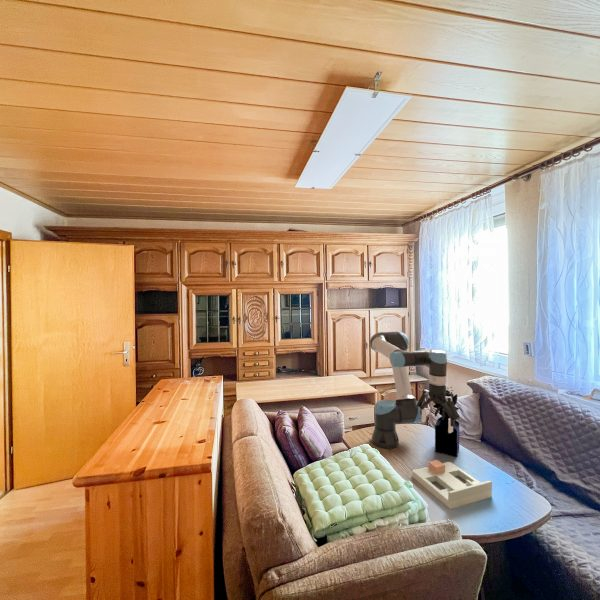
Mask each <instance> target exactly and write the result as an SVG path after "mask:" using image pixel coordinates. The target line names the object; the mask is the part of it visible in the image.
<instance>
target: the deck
mask: <svg viewBox="0 0 600 600" xmlns="http://www.w3.org/2000/svg"><path fill="white" fill-rule="evenodd" d="M441 463H442V462H441ZM442 464H444V465H445V472H442V473H438V474H436V473H434V472H433V471H432V470H431V469H429V468H428V466H426V467H425V466H424V467H420V468H417V469H412V470H411V476H412V477H411V478H413V479H414V480H415V481H417V482H418V483H419V484H420V485H421V486H422V487H424V488H425V489H426V490H427V491H429V493H431V494H432V495H433V496H434V497H435V498H437V499H438V500H439V501H440V502H441V503H442V504H443V505H445V506H446V507H447V508H448V509H450V510H452V509H455V508H459V507H463V506H466V505H469V504H472V503H476V502H479V501H482V500H486V499H489V498H492V497H493V495H492V494H493V493H492V492H493V488H492V487H493V483H492V480H486V481H482V482H481V481H479V480H478V479H477V478H475V477H473V476H472V475H470V474H469V473H467V471H464V470H463V469H461V468H460V467H458V466H457V465H455V464H454V463H452V462H451V461H446V462H445V461H444V462H443V463H442Z"/></svg>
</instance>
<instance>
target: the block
mask: <svg viewBox="0 0 600 600" xmlns="http://www.w3.org/2000/svg"><path fill="white" fill-rule="evenodd" d="M427 463H428V466H427V467H428V468H429V469H431V470H432V471H433V472H434V473H436V474H438V473H442V472H445V465H444V464H442V462H441V461H440V460H438V459H434V460H430V461H428V462H427Z"/></svg>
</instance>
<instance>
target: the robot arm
mask: <svg viewBox="0 0 600 600" xmlns="http://www.w3.org/2000/svg"><path fill="white" fill-rule="evenodd" d="M369 346H370V348H371V349H372V351H374V352H376V353H379V354H382V355H383V356H384V357H385V358H388V359H389V364H390V365H391V368H392V372H393V373H392V375H393V379H394V385H395V390H396V391H395V392H396V396H397V397H396V398H395V399H394V400H392V399H380V400H378V401H376V402H375V404H374V410H373V412H374V428H373V433H372V435H371V442H372V444H373V445H374V446H376V447H378V448H381V449H388V450H389V449H395V448H398V446H399V444H400V439H399V436H398V433H397V428H396V425H404V424H405V425H406V424H416V423H419V422H420V421H421V423H425V422H427V408H426V407H427V406H428V405H429V404H430V403H431V402H433V403H434V402H436V403H438V404H441V406H443V408H444V409H445V411H446V413H447V414H448V416H449V417H450V419H449V424H448V433H452V432H453V426H455V420H456V421H458V419H460V415H459V413H458V410H456V408H455V406H456V405H454V403H453V397H447V396H446V390H447V367H448V366H447V365H448V363H447V362H448V357H447V352H445V351H444V350H440V349H431V350H428V349H425V348H424V349H423V348H421V349H418V350H413V351H412V350H409V351H408V349H409V346H410V342H409V338H408V336H407V335H406V333H404V332H403V331H385V332H384V331H382V332H381V331H380V332H377V333H374V334H373V335H372V336H371V337H370V339H369ZM408 367H427V368H428V382H429V383H428V389H427V388H426V389H423V390H422V394H421V396H420V398H419V400H417V398H416V397H415V396H414V395H413V391H412V386H411V381H410V376H409V371H408V370H409V369H408ZM428 395H429V397H428V399H426V397H427V396H428ZM425 399H426V401H425ZM446 400H447V401H448V404H449V406H448V405H447V402H446ZM424 401H425V402H424ZM443 402H444V403H443ZM449 407H450V408H449Z"/></svg>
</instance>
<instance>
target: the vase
mask: <svg viewBox="0 0 600 600" xmlns="http://www.w3.org/2000/svg"><path fill="white" fill-rule="evenodd" d="M452 388H453V387H452V386H450V387H447V386H446V396H447V397H453V403H454V405H455V408H456V410H457V411H458V410H460V407H458V406H456V405H457V403H458V394H454V393H453V391H454V390H453V389H452ZM449 389H451V390H449ZM446 402H447V405H448V406H449V404H448V401H447V400H446ZM433 403H434V405H432V408H434V409H436V410H435V412H434V417H435V418H437V415H438V414H439V416H440V417H439V418H437V420H436V422H435V424H434V453H438V454H442V455H444V456H445V455H446V456H451V457H454V458H458V455H459V451H460V422H459V420H455V426H453V432H452V433H448V424H449V419H450V417H449V416H448V414H447V413H446V411H445V409H444V408H443V406H441V404H438V403H436V402H433ZM443 403H444V402H443ZM449 408H450V407H449Z"/></svg>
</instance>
